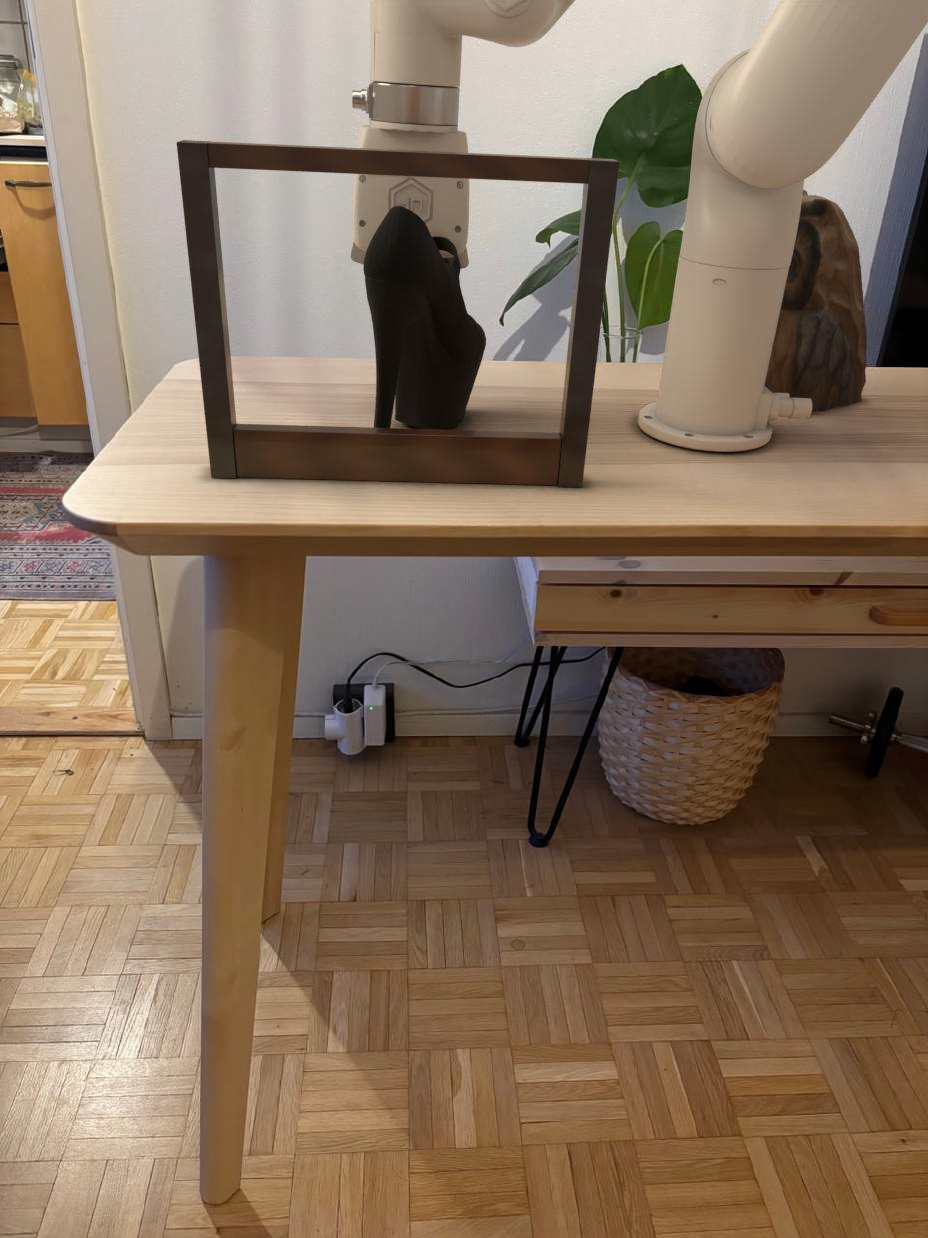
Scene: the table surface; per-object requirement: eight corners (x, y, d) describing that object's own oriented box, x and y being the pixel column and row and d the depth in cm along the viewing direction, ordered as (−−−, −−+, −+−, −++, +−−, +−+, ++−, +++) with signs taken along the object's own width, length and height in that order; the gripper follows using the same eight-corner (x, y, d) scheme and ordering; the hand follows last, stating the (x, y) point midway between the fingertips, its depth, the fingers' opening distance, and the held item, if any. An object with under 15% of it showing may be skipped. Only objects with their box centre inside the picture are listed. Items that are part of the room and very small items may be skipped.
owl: (793, 419, 93) (843, 204, 83) (700, 386, 102) (734, 188, 92) (867, 401, 100) (922, 200, 90) (773, 372, 109) (813, 185, 98)
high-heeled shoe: (492, 407, 92) (521, 191, 81) (405, 473, 77) (426, 219, 66) (422, 388, 94) (440, 175, 83) (323, 448, 80) (330, 199, 69)
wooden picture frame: (578, 478, 77) (614, 158, 65) (582, 487, 75) (619, 161, 63) (215, 468, 76) (182, 139, 63) (211, 478, 74) (176, 141, 62)
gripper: (320, 105, 74) (324, 336, 84) (505, 117, 75) (488, 345, 84) (329, 102, 81) (332, 317, 90) (499, 113, 81) (485, 326, 91)
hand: (408, 330), depth 87 cm, fingers closed
